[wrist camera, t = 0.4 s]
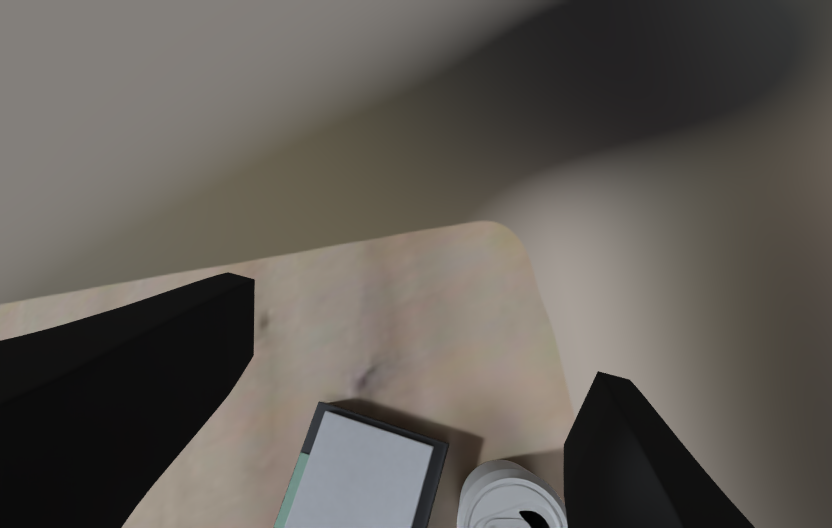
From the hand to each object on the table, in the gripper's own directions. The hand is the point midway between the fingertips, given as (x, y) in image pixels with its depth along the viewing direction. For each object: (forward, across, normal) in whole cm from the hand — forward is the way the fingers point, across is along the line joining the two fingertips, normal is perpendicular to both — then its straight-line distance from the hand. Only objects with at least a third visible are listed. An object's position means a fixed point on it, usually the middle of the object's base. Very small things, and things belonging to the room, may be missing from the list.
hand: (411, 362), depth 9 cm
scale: (+15, +3, +28) cm, 32 cm away
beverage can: (+17, -8, +25) cm, 32 cm away
